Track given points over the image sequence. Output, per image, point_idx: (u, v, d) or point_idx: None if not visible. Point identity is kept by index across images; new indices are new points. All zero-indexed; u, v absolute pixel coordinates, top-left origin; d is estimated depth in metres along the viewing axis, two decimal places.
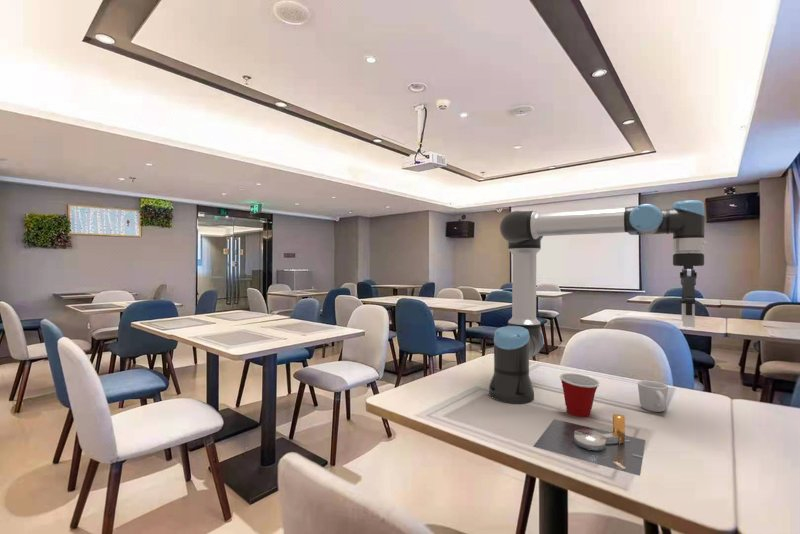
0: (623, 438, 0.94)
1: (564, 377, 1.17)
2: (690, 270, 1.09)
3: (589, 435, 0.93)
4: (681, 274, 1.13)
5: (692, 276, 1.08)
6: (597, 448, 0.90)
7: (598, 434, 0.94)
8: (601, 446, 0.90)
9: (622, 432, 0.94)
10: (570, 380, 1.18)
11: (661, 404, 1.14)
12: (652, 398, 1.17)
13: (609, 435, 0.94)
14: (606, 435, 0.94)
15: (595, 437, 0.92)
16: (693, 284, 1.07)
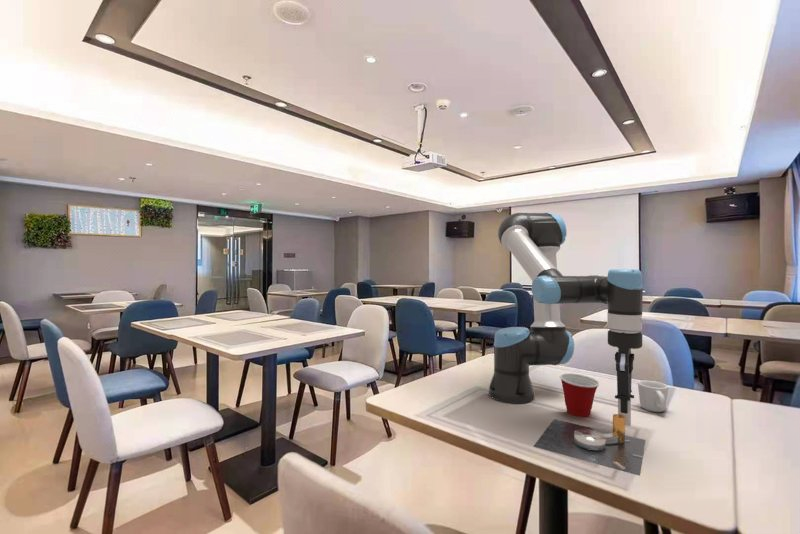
0: (623, 438, 0.94)
1: (564, 377, 1.17)
2: (623, 366, 0.90)
3: (589, 435, 0.93)
4: (616, 358, 0.95)
5: (626, 372, 0.91)
6: (597, 448, 0.90)
7: (598, 434, 0.94)
8: (601, 446, 0.90)
9: (622, 432, 0.93)
10: (570, 380, 1.18)
11: (661, 404, 1.14)
12: (652, 398, 1.17)
13: (609, 436, 0.94)
14: (606, 435, 0.94)
15: (595, 437, 0.92)
16: (627, 381, 0.91)
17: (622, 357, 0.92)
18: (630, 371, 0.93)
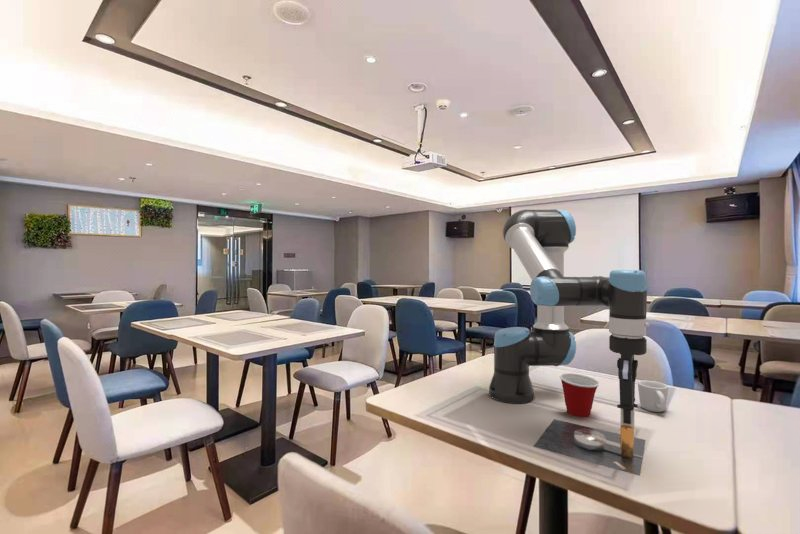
0: (627, 451, 0.87)
1: (564, 377, 1.17)
2: (626, 374, 0.84)
3: (588, 435, 0.93)
4: (618, 365, 0.89)
5: (629, 380, 0.85)
6: (583, 446, 0.91)
7: (600, 438, 0.92)
8: (588, 445, 0.91)
9: (625, 444, 0.87)
10: (570, 380, 1.18)
11: (661, 404, 1.14)
12: (652, 398, 1.17)
13: (612, 443, 0.90)
14: (610, 442, 0.90)
15: (590, 437, 0.92)
16: (630, 390, 0.85)
17: (625, 364, 0.86)
18: (633, 379, 0.87)
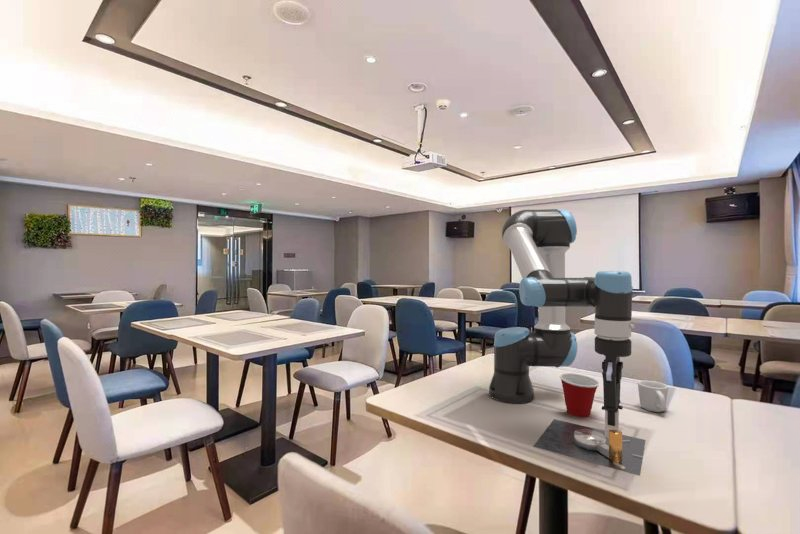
0: (612, 455, 0.85)
1: (564, 377, 1.17)
2: (610, 376, 0.84)
3: (588, 435, 0.94)
4: (603, 367, 0.89)
5: (613, 382, 0.84)
6: (576, 442, 0.93)
7: (596, 439, 0.91)
8: (579, 442, 0.92)
9: (610, 448, 0.85)
10: (570, 380, 1.18)
11: (661, 404, 1.14)
12: (652, 398, 1.17)
13: (604, 446, 0.88)
14: (604, 445, 0.89)
15: (586, 436, 0.93)
16: (614, 392, 0.85)
17: (609, 366, 0.86)
18: (618, 381, 0.87)
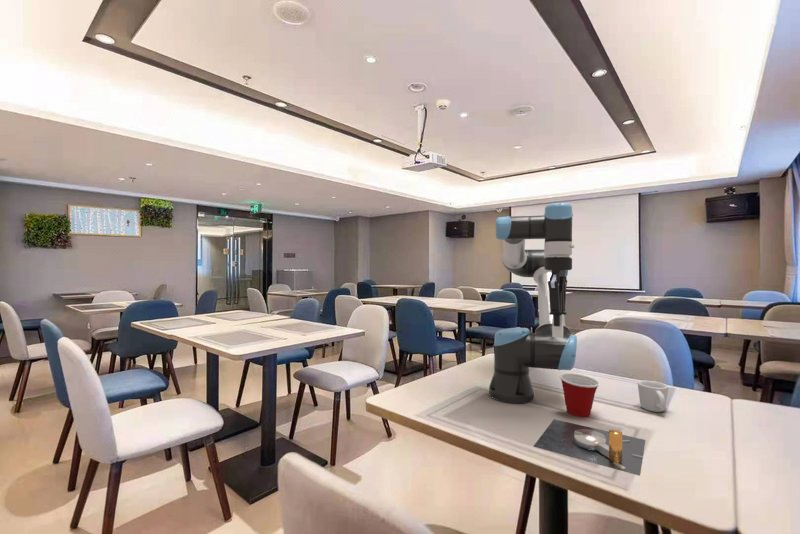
0: (612, 455, 0.85)
1: (564, 377, 1.17)
2: (553, 283, 1.07)
3: (588, 435, 0.94)
4: (550, 280, 1.11)
5: (556, 288, 1.07)
6: (576, 442, 0.93)
7: (596, 439, 0.91)
8: (579, 442, 0.92)
9: (610, 448, 0.85)
10: (570, 380, 1.18)
11: (661, 404, 1.14)
12: (652, 398, 1.17)
13: (604, 446, 0.88)
14: (604, 445, 0.89)
15: (586, 436, 0.93)
16: (557, 297, 1.07)
17: (554, 277, 1.08)
18: (561, 290, 1.09)
